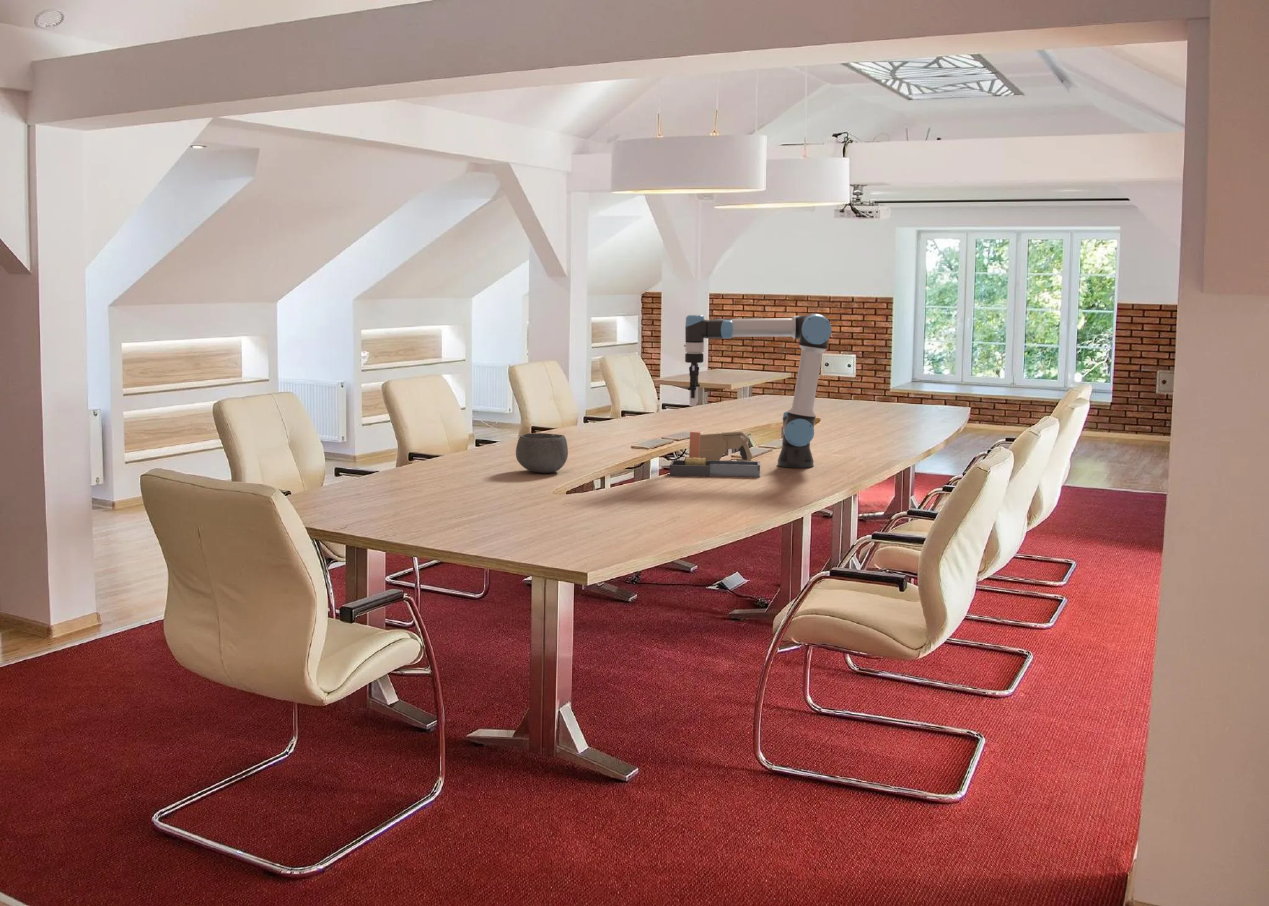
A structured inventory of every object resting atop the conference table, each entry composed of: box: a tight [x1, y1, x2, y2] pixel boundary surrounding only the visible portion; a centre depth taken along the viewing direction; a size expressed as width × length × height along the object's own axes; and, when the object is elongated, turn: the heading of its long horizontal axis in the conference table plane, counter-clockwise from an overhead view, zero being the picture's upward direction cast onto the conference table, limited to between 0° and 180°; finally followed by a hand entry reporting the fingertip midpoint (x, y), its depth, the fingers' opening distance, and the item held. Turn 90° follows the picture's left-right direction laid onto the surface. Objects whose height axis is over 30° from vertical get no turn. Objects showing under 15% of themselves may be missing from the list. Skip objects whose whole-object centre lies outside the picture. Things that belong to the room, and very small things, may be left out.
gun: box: [699, 430, 753, 461], centre depth 515 cm, size 24×3×15 cm, turn 84°
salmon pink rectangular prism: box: [688, 430, 701, 458], centre depth 505 cm, size 4×7×16 cm, turn 173°
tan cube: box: [695, 458, 706, 466], centre depth 493 cm, size 4×4×4 cm
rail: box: [710, 460, 761, 478], centre depth 492 cm, size 20×10×5 cm, turn 84°
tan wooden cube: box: [684, 456, 696, 466], centre depth 494 cm, size 4×4×4 cm
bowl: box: [515, 432, 569, 474], centre depth 494 cm, size 21×21×15 cm
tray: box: [669, 459, 711, 478], centre depth 494 cm, size 16×14×4 cm
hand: (693, 404), depth 502 cm, fingers open, 13 cm apart
